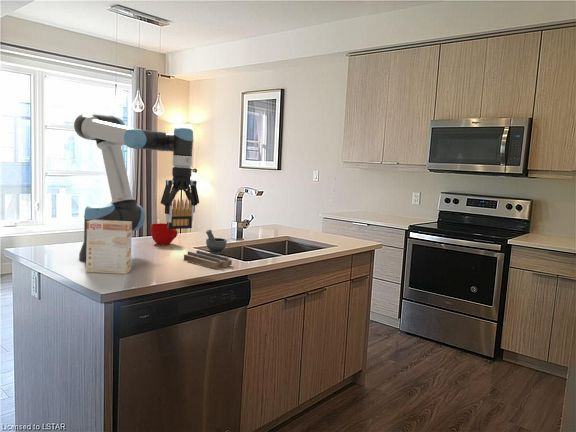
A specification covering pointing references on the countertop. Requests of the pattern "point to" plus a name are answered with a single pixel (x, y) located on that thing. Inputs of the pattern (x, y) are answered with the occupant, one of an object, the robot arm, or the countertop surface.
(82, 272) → the countertop surface
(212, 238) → the mortar and pestle
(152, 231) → the ceramic cup
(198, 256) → the stick bundle
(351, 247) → the countertop surface
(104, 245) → the coffeecake box
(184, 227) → the ammunition clip
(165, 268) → the countertop surface
